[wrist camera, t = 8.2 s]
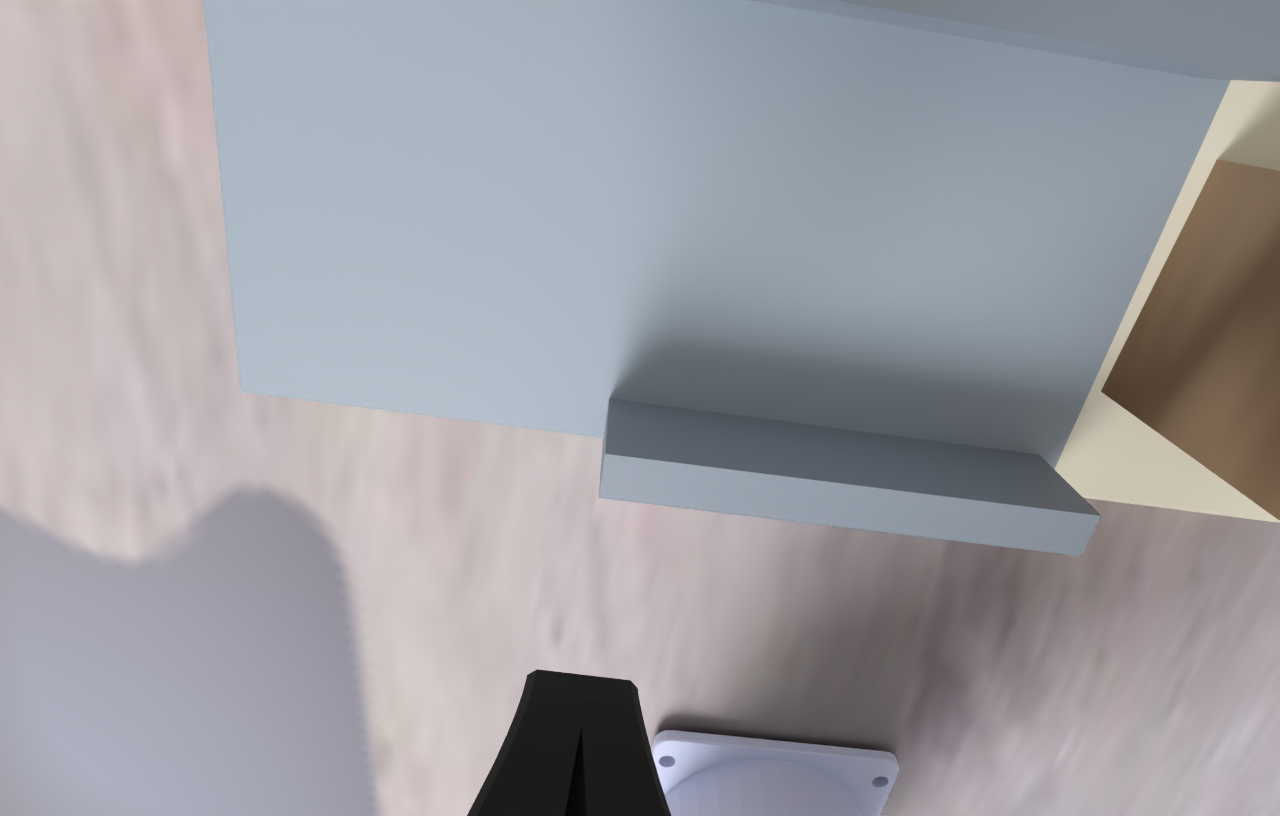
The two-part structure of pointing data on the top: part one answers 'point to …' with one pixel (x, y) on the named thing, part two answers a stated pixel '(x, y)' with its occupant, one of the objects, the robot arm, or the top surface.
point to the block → (1215, 336)
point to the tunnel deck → (744, 236)
